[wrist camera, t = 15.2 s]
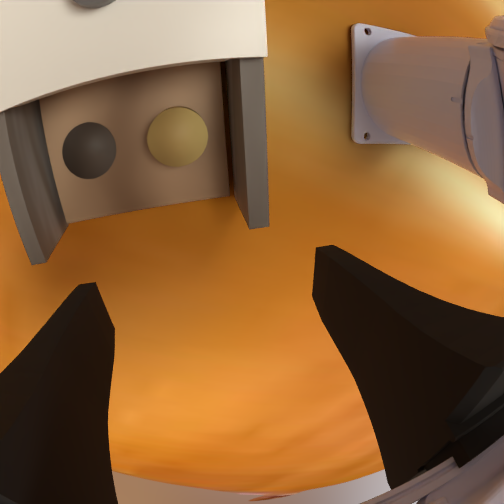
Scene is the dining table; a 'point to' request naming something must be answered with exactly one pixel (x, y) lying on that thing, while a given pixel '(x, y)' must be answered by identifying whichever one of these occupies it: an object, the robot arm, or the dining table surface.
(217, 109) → the housing
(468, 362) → the robot arm
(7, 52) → the lid
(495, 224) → the dining table surface
